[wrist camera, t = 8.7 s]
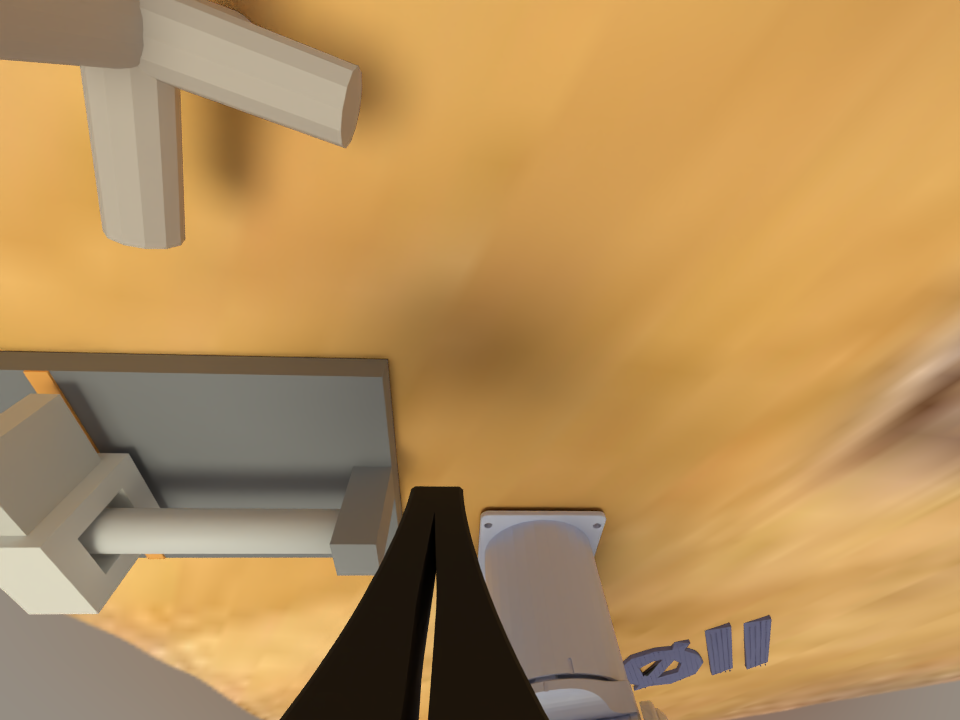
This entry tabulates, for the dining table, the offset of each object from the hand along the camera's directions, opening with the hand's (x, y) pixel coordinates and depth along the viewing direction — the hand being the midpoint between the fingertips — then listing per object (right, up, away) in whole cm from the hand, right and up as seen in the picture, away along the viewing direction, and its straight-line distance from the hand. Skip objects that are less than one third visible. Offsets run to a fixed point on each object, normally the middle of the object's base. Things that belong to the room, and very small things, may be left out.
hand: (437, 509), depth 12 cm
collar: (-18, -1, +9) cm, 20 cm away
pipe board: (-16, -1, +12) cm, 19 cm away
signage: (+14, -25, +28) cm, 40 cm away
